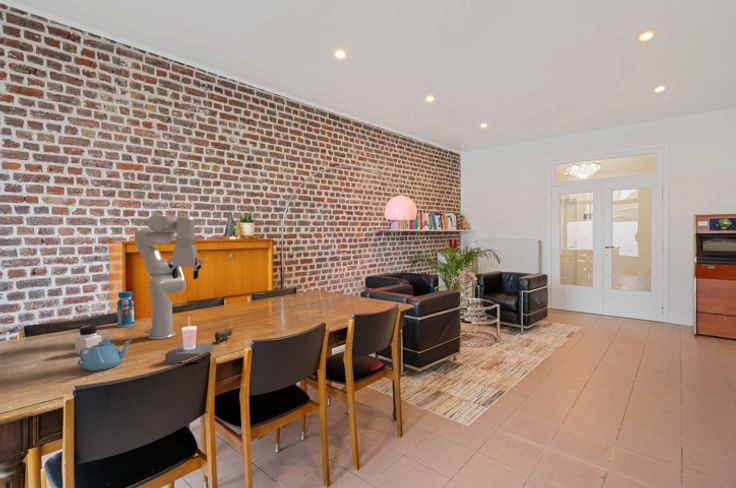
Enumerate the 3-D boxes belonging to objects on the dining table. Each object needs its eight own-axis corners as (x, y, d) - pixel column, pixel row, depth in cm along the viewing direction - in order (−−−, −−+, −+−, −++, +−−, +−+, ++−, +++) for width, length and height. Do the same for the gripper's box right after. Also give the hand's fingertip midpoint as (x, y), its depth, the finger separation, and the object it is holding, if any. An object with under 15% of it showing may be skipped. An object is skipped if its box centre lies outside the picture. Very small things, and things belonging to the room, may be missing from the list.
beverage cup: (178, 349, 158) (177, 317, 157) (190, 345, 163) (189, 314, 163) (189, 351, 155) (188, 318, 155) (200, 346, 161) (199, 315, 161)
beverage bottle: (113, 327, 212) (112, 293, 211) (125, 323, 220) (124, 290, 220) (126, 327, 211) (125, 293, 210) (137, 324, 219) (137, 291, 218)
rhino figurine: (236, 336, 191) (236, 325, 191) (219, 344, 178) (219, 332, 178) (229, 336, 192) (229, 325, 192) (212, 344, 179) (211, 331, 179)
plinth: (165, 363, 152) (165, 353, 152) (181, 352, 166) (181, 343, 166) (199, 362, 152) (199, 353, 152) (212, 352, 166) (212, 343, 166)
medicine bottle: (102, 350, 169) (101, 325, 169) (86, 355, 162) (85, 328, 162) (91, 349, 171) (90, 323, 171) (75, 353, 165) (74, 327, 164)
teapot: (72, 370, 145) (71, 344, 145) (111, 357, 159) (110, 334, 159) (95, 375, 140) (94, 348, 139) (133, 362, 154) (133, 338, 153)
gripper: (162, 242, 169) (162, 279, 170) (200, 243, 169) (200, 280, 170) (171, 241, 177) (171, 276, 178) (207, 242, 177) (207, 277, 178)
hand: (185, 278), depth 174 cm, fingers open, 9 cm apart
